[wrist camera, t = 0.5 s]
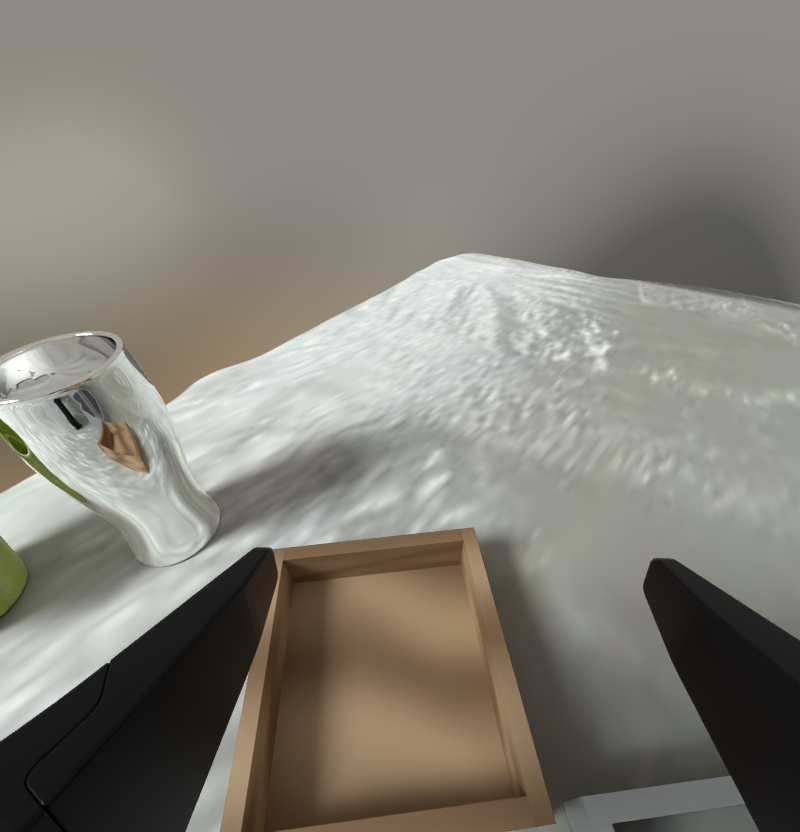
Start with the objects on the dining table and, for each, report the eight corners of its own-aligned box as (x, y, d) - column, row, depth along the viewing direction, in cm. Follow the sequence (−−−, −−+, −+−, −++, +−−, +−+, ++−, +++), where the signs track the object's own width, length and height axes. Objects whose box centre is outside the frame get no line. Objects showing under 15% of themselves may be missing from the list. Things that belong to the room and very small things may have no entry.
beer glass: (132, 511, 30) (-11, 347, 20) (223, 481, 32) (133, 318, 22) (122, 590, 25) (-75, 425, 15) (230, 549, 27) (117, 379, 17)
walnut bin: (537, 826, 16) (556, 823, 14) (243, 869, 16) (212, 873, 13) (469, 555, 26) (473, 527, 23) (285, 576, 25) (271, 549, 23)
